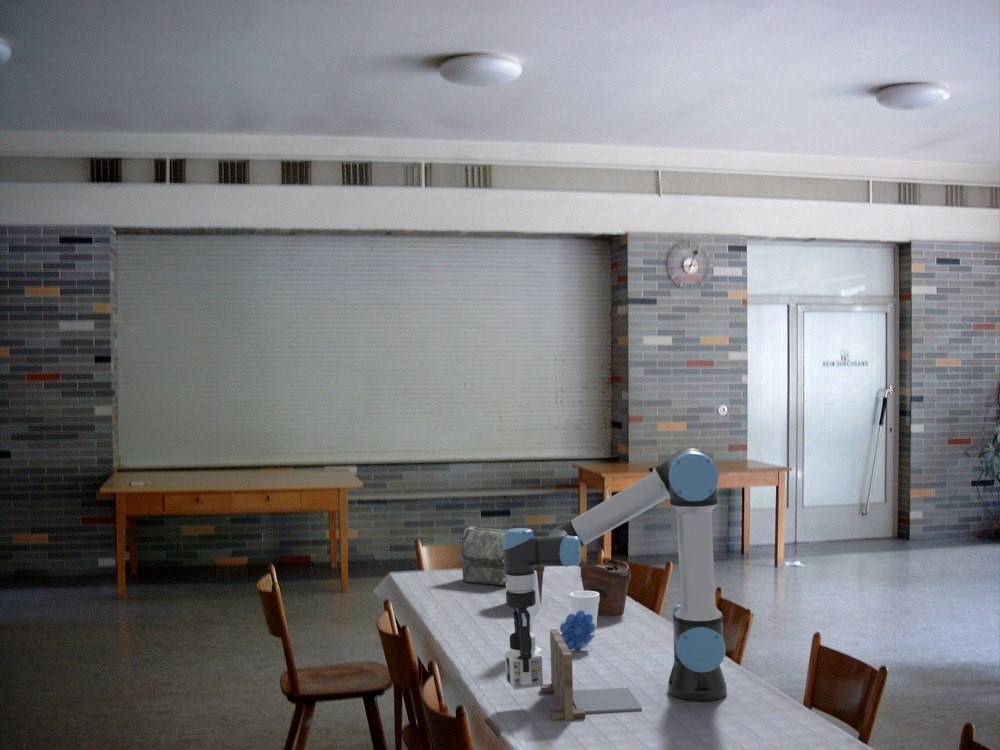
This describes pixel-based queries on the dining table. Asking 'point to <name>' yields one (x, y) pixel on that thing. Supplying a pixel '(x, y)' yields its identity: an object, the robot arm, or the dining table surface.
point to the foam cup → (585, 604)
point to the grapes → (577, 630)
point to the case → (607, 585)
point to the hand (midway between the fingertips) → (524, 678)
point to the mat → (605, 700)
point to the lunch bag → (483, 555)
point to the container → (514, 664)
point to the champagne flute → (535, 607)
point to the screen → (561, 679)
